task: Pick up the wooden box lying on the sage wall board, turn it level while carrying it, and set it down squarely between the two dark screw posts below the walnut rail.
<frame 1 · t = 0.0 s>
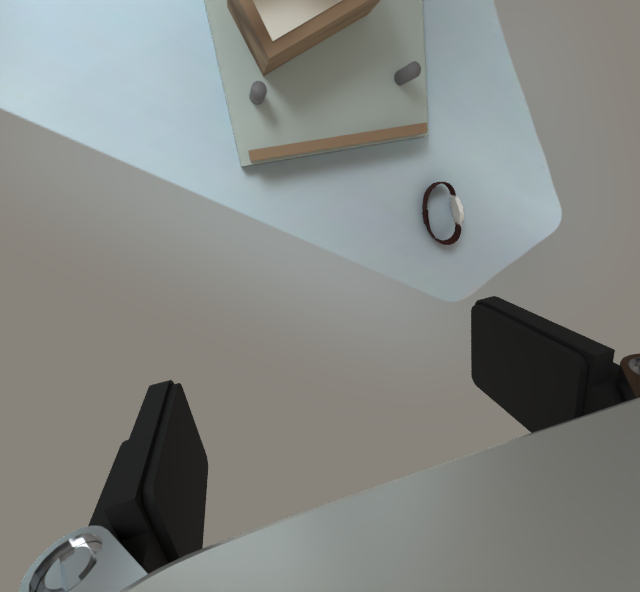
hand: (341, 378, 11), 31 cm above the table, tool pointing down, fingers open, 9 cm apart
watch: (435, 212, 44), on the table
wooden box: (300, 10, 33), point 1 cm above the table, touching wall board
wall board: (323, 55, 36), on the table
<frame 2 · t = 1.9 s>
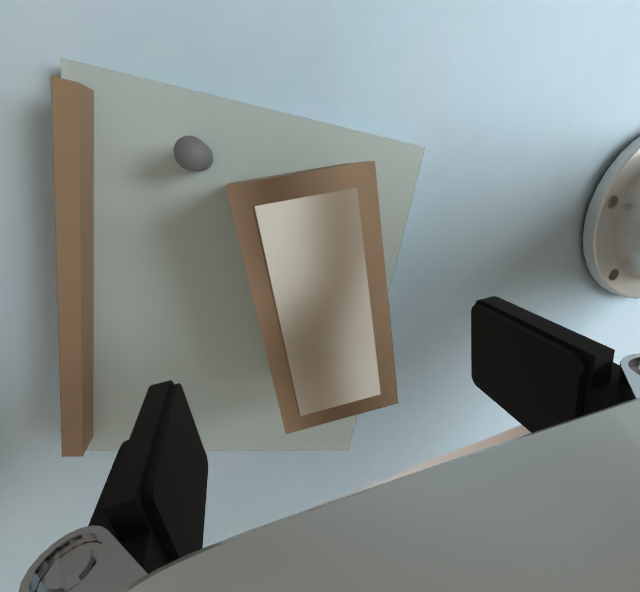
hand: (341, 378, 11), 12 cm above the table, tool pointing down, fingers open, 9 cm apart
wooden box: (305, 278, 21), point 1 cm above the table, touching wall board
wall board: (241, 297, 22), on the table
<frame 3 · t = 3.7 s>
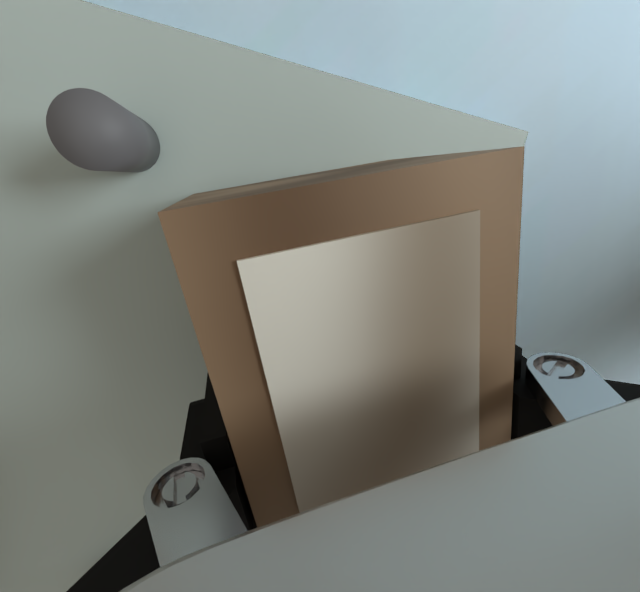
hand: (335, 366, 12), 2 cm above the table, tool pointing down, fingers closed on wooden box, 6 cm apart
wooden box: (326, 350, 13), point 1 cm above the table, touching gripper, wall board
wall board: (220, 378, 13), on the table
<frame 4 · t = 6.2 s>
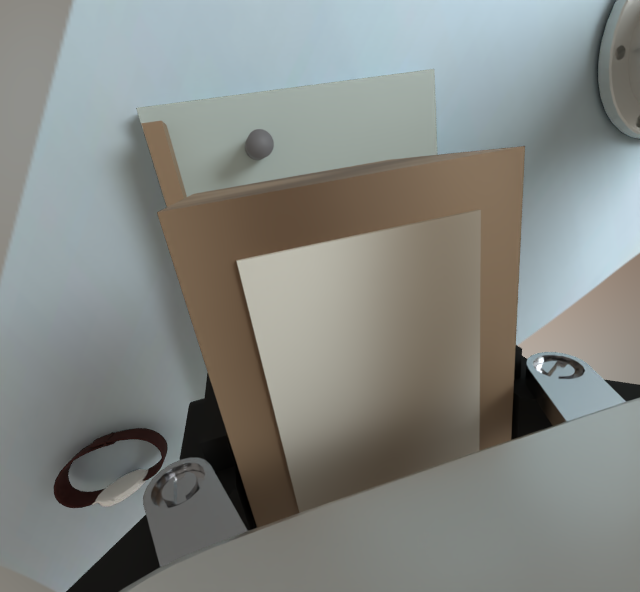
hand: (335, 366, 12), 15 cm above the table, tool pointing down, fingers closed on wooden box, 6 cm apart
watch: (119, 451, 27), on the table
wooden box: (326, 350, 13), point 14 cm above the table, touching gripper
wall board: (319, 254, 26), on the table
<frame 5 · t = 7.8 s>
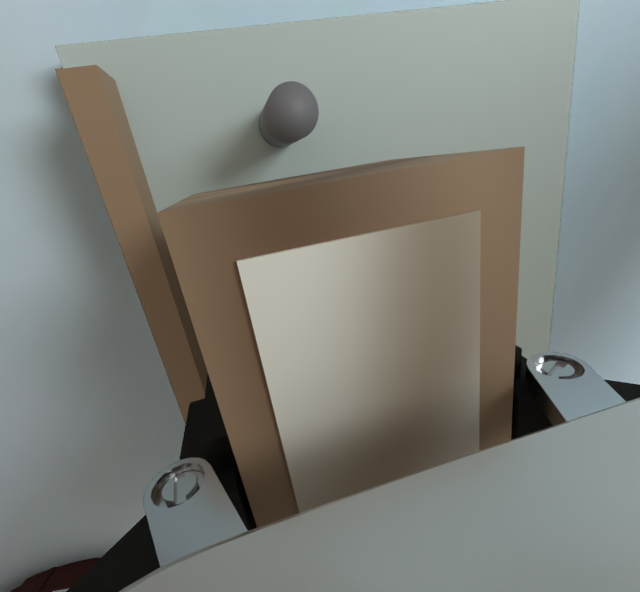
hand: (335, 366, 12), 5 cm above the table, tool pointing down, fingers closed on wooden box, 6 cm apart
watch: (66, 587, 18), on the table
wooden box: (326, 350, 13), point 4 cm above the table, touching gripper
wall board: (370, 297, 16), on the table
when the fingers open (4 cm above the table, at t = 8.9 s): wooden box drops 1 cm, resting on wall board.
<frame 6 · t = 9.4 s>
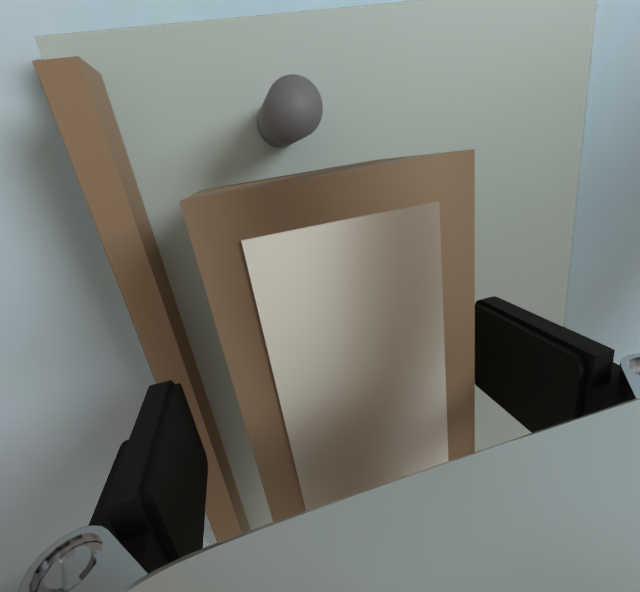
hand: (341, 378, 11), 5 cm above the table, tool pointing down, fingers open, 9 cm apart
wooden box: (319, 331, 14), point 1 cm above the table, touching wall board
wall board: (375, 305, 16), on the table
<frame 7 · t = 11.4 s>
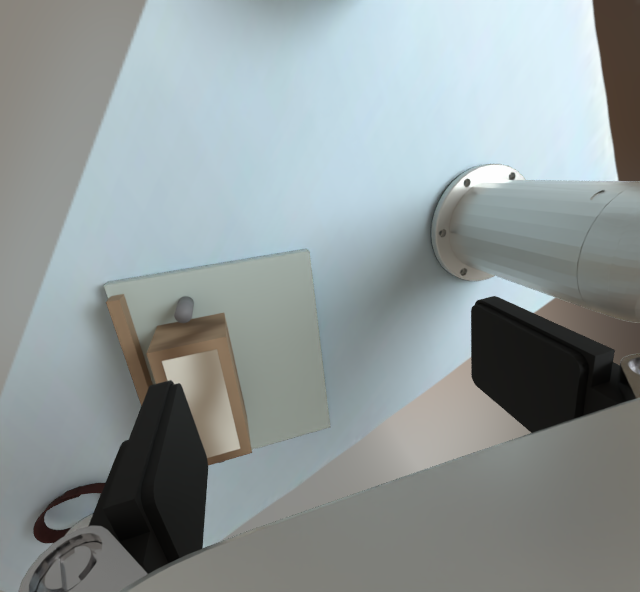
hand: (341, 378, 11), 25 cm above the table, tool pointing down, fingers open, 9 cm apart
watch: (83, 499, 37), on the table
wooden box: (205, 374, 35), point 1 cm above the table, touching wall board
wall board: (234, 362, 36), on the table
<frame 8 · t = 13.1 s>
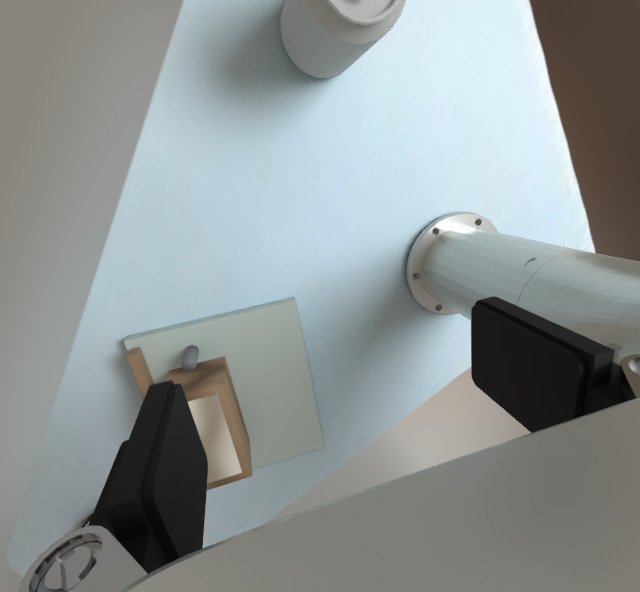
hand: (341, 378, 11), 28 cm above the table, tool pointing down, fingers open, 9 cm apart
wooden box: (211, 407, 41), point 1 cm above the table, touching wall board
can: (318, 35, 33), on the table
wall board: (236, 395, 42), on the table
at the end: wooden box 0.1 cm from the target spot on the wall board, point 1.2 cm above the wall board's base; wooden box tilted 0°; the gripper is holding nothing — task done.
